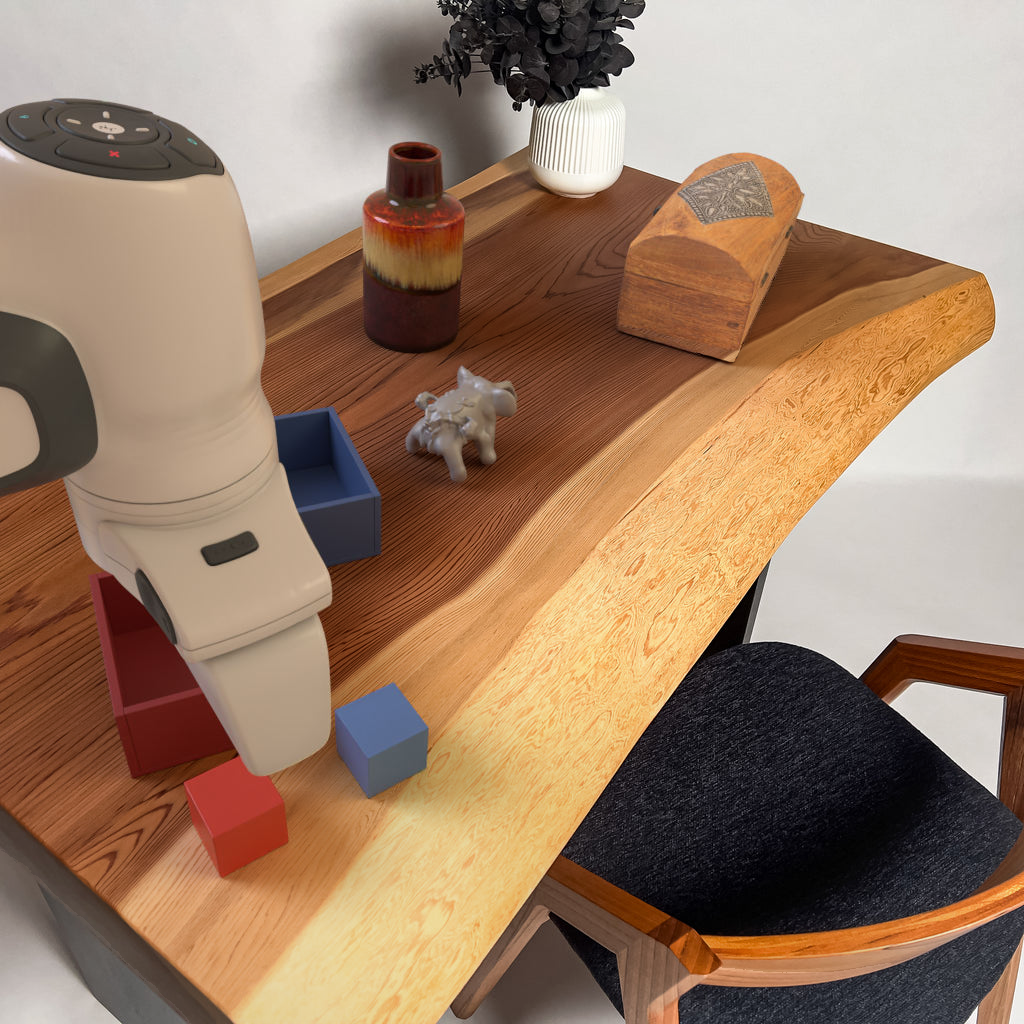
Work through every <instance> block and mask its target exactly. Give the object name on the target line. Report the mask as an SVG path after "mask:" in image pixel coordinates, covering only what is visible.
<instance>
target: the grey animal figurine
mask: <svg viewBox="0 0 1024 1024" xmlns="http://www.w3.org/2000/svg"><path fill="white" fill-rule="evenodd" d="M456 382H457V388H456V389H450V390H449V391H445V393H444V394H442V395H441V396H440V397H437V396H436V395H434V394H432V393H430V392H429V391H423V392H421V393H419V394H418V395H417V396H416V398H415V400H414V405H415V406H416V407H417V408H419V409H420V410H422V411H424V417H423V416H422V418H420V419H419V420H418V421H417V422H416V423H415V424H414V425H413V426H412V427H411V429H410V430H409V431H408V433H407V435H406V437H405V448H406V451H407V452H408V453H409V454H412V455H413V454H415V453H417V452H418V451H419V450H420V448H421V449H425V448H427V451H428V453H430V454H432V455H435V454H436V456H442V457H443V458H444V460H445V462H446V465H447V467H448V470H449V477H450V479H451V481H452V482H453V483H456V484H462V483H463V482H464V481H466V479H467V477H468V472H467V468H466V465H465V463H464V460H463V459H464V458H463V454H462V451H463V446H465V445H466V444H468V441H472V442H473V445H474V447H475V449H476V451H477V453H478V457H479V460H480V462H481V463H482V464H483V465H486V466H491V465H493V464H494V463H496V461H497V453H496V451H495V439H496V425H497V416H499V417H504V418H510V417H512V416H514V415H515V414H516V412H517V411H518V404H517V402H518V395H517V394H518V393H516V390H515V386H514V385H513V384H512V382H511V380H504V381H500V382H492V381H489V380H488V379H486V378H485V377H482V376H481V375H475V374H473V373H472V372H471V371H470V370H469V369H467V368H465V367H464V366H463V365H461V366H459V368H458V371H457V374H456ZM430 400H433V401H434V402H433V403H430V404H429V401H430Z"/></svg>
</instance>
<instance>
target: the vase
mask: <svg viewBox="0 0 1024 1024" xmlns="http://www.w3.org/2000/svg"><path fill="white" fill-rule="evenodd" d="M387 152H388V153H387V162H386V163H387V165H386V176H385V177H386V178H385V187H383V188H380V189H378V190H376V191H374V192H372V193H370V194H369V195H368V196H367V197H366V198H365V200H364V201H363V203H362V207H361V208H362V209H361V210H362V211H361V212H362V213H361V214H362V215H361V218H362V220H361V223H362V225H361V227H362V229H361V231H362V234H361V235H362V302H363V305H362V307H363V308H362V310H363V311H362V312H363V329H364V332H365V335H366V336H367V337H368V339H370V340H371V341H372V342H373V343H375V344H376V345H378V346H380V347H382V348H385V349H388V350H391V351H394V352H395V351H396V352H402V353H414V354H415V353H416V354H417V353H427V352H428V353H429V352H432V351H437V350H441V349H443V348H445V347H447V346H448V345H450V344H451V343H452V342H454V341H455V340H456V338H457V336H458V333H459V324H460V309H461V293H462V292H461V291H462V277H463V275H462V274H463V259H464V258H463V257H464V240H465V238H464V237H465V223H466V211H465V207H464V205H463V204H462V202H461V201H460V200H459V199H458V198H457V197H455V196H454V195H453V194H451V193H448V192H446V191H445V190H444V172H443V171H444V169H443V164H444V163H443V162H444V161H443V152H442V150H441V149H440V148H439V147H437V146H436V145H433V144H431V143H427V142H421V141H400V142H397V143H394V144H392V145H391V146H389V148H388V151H387Z"/></svg>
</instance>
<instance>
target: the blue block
mask: <svg viewBox="0 0 1024 1024" xmlns="http://www.w3.org/2000/svg"><path fill="white" fill-rule="evenodd" d="M334 723H335V725H334V727H335V745H336V746H335V747H336V749H335V750H336V752H337V754H338V756H339V757H340V758H341V759H342V761H343V763H344V764H345V765H346V768H347V769H348V770H349V772H350V773H351V775H352V776H353V778H354V779H355V781H356V783H357V784H358V785H359V787H360V788H361V790H362V791H363V793H364V794H365V796H366V797H367V798H368V799H371V798H373V797H375V796H377V795H379V794H381V793H383V792H385V791H387V790H389V789H390V788H392V787H394V786H396V785H398V784H399V783H402V782H403V781H405V780H407V779H409V778H411V777H412V776H415V775H416V774H418V773H420V772H422V771H424V770H426V769H427V768H428V767H427V766H428V749H429V730H430V728H429V726H428V725H427V723H426V722H425V720H424V719H423V718H422V717H421V716H420V714H419V713H418V712H417V710H416V709H415V708H414V706H413V705H412V704H411V702H410V701H409V700H408V699H407V697H406V696H405V694H404V693H403V691H402V690H401V689H400V688H399V687H398V686H397V684H396V683H395V682H391V683H389V684H387V685H385V686H382V687H380V688H378V689H376V690H374V691H372V692H370V693H368V694H366V695H363V696H361V697H359V698H357V699H354V700H353V701H350V702H349V703H346V704H344V705H342V706H340V707H337V708H336V709H334Z"/></svg>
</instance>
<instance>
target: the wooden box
mask: <svg viewBox="0 0 1024 1024" xmlns="http://www.w3.org/2000/svg"><path fill="white" fill-rule="evenodd" d="M804 199H805V193H804V192H802V191H801V187H800V185H799V183H798V182H797V180H796V178H795V177H794V175H793V174H792V173H791V172H790V171H789V170H788V169H787V168H786V167H785V166H783V165H782V164H781V163H779V162H777V161H775V160H773V159H771V158H769V157H766V156H763V155H759V154H758V153H757V154H756V153H752V152H745V151H744V152H731V153H727V154H721V155H719V156H717V157H715V158H713V159H710V160H708V161H706V162H704V163H701V164H700V165H699V166H697V167H695V169H694V170H692V172H691V173H690V174H689V175H688V176H687V177H686V178H685V179H684V181H683V182H681V184H680V185H678V187H677V188H676V189H675V190H674V191H673V193H672V194H671V195H670V197H669V198H668V199H667V200H666V201H665V202H664V203H663V204H660V205H658V206H657V207H656V208H654V209H653V213H652V218H651V219H650V220H649V222H648V223H647V224H646V225H645V227H644V228H643V229H642V230H641V231H640V233H638V235H637V236H636V237H635V238H634V239H633V240H632V241H631V242H630V245H629V247H628V250H627V254H626V256H625V257H626V258H625V262H624V268H623V269H624V272H623V276H622V281H621V284H620V285H621V286H620V290H619V296H618V304H617V312H616V321H617V322H616V323H615V324H616V325H615V327H616V330H617V331H619V332H622V333H625V334H628V335H632V336H635V337H638V338H641V339H645V340H649V341H652V342H656V343H660V344H663V345H666V346H670V347H673V348H677V349H680V350H684V351H686V352H689V353H694V354H697V353H698V351H699V350H700V351H701V349H697V350H696V348H695V347H691V346H688V345H684V344H681V343H677V342H674V341H670V340H667V339H664V338H660V337H657V336H653V335H650V334H646V333H643V332H640V331H636V330H633V329H630V328H626V327H623V326H620V325H618V324H617V323H621V324H623V325H628V326H632V327H635V328H642V329H644V330H649V331H653V332H658V333H662V334H664V335H668V336H672V337H677V338H681V339H684V340H690V341H696V342H698V343H703V344H708V345H714V346H717V347H722V348H727V349H732V350H739V349H740V347H741V344H742V342H743V340H744V338H745V336H746V333H747V331H748V329H749V327H750V325H751V323H752V320H753V318H754V316H755V314H756V312H757V309H758V307H759V305H760V303H761V301H762V299H763V297H764V295H765V293H766V291H767V288H768V286H769V284H770V282H771V280H772V278H773V276H774V274H775V272H776V270H777V268H778V266H779V264H780V262H781V260H782V258H783V259H784V257H785V254H786V251H787V248H788V245H789V242H790V239H791V236H792V233H793V231H794V228H795V224H796V222H797V219H798V216H799V214H800V211H801V209H802V205H803V202H804ZM783 256H784V257H783ZM782 261H783V260H782ZM694 349H695V350H694ZM696 352H697V353H696Z"/></svg>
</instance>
